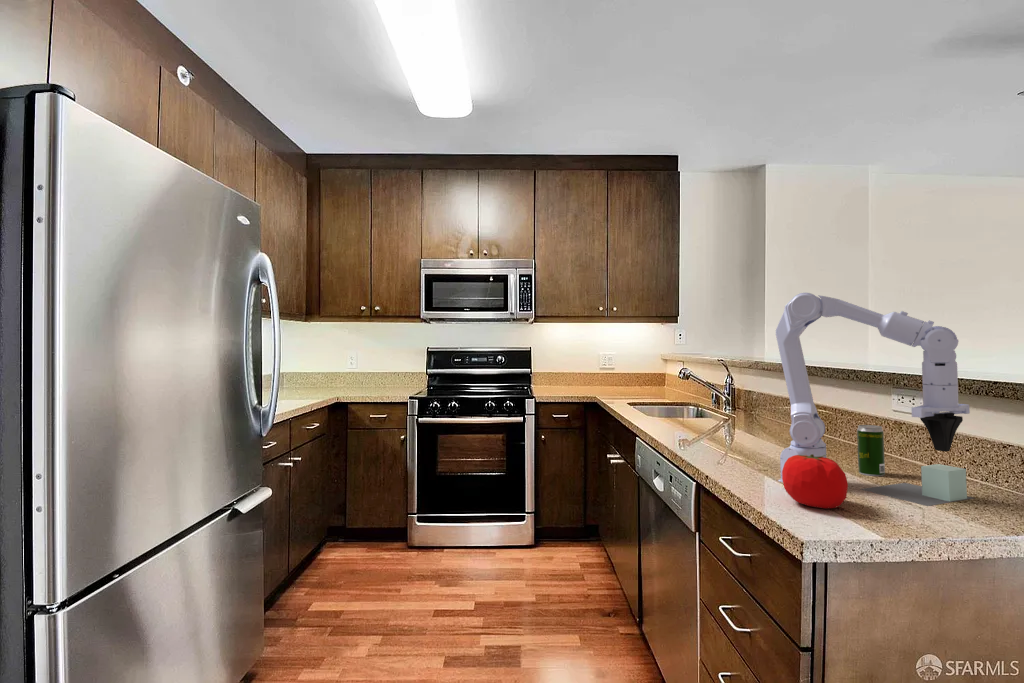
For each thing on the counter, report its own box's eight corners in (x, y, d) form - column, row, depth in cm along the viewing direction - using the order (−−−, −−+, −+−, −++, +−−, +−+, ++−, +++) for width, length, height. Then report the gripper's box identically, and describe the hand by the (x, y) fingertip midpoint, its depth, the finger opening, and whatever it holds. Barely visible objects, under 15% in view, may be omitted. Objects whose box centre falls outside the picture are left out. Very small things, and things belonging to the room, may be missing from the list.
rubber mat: (927, 508, 104) (927, 506, 104) (860, 490, 117) (860, 489, 117) (975, 500, 109) (975, 498, 109) (904, 484, 122) (904, 482, 122)
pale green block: (949, 501, 107) (948, 471, 107) (922, 495, 112) (921, 466, 112) (967, 498, 108) (965, 468, 109) (939, 492, 113) (938, 464, 113)
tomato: (825, 517, 100) (823, 462, 100) (768, 501, 111) (767, 451, 112) (865, 509, 104) (863, 456, 104) (806, 494, 116) (804, 446, 116)
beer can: (888, 475, 131) (886, 426, 131) (880, 479, 127) (878, 428, 127) (863, 471, 135) (861, 424, 135) (855, 475, 131) (853, 426, 132)
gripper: (936, 387, 104) (939, 457, 104) (985, 384, 109) (987, 450, 109) (900, 385, 111) (902, 450, 111) (947, 382, 116) (949, 445, 116)
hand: (942, 450), depth 110 cm, fingers closed
